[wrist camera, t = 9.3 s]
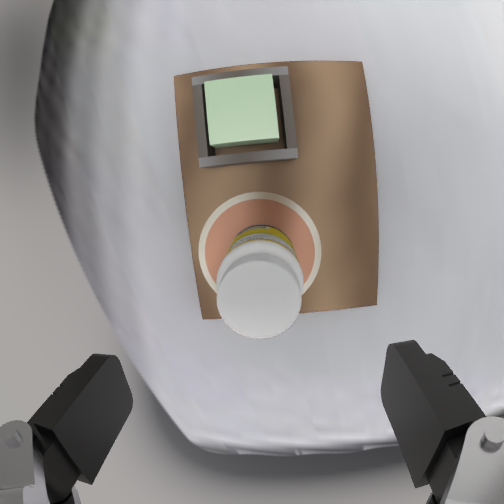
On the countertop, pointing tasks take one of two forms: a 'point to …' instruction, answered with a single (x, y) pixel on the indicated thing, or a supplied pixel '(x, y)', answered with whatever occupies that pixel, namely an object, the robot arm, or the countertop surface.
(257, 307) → the supplement bottle
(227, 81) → the button
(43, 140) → the countertop surface
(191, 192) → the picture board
